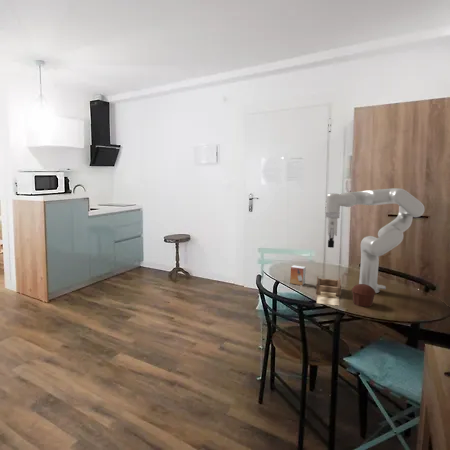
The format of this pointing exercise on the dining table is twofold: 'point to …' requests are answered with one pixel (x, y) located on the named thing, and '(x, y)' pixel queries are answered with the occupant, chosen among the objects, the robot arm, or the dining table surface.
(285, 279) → the dining table surface
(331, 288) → the walnut box
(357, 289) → the muffin
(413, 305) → the dining table surface
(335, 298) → the lid
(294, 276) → the small box
